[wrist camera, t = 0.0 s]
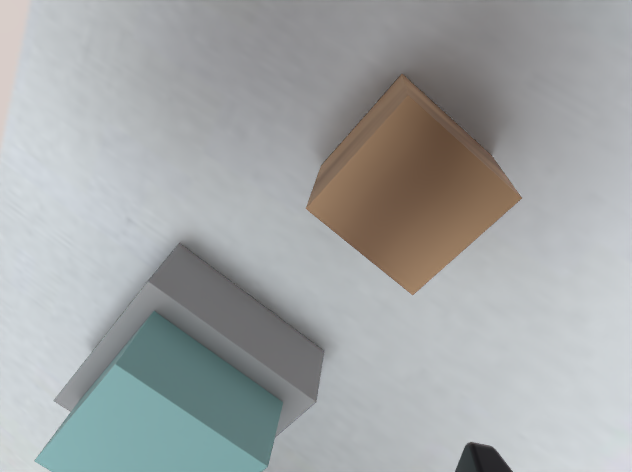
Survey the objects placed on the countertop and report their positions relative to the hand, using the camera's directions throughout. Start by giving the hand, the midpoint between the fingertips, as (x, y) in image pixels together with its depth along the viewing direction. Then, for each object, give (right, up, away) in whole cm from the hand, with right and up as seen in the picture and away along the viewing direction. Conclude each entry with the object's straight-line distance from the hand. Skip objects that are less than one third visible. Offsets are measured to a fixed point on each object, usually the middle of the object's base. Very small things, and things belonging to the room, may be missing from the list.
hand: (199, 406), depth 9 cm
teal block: (-4, -5, +15) cm, 16 cm away
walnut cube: (+6, +6, +13) cm, 15 cm away
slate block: (-4, -3, +19) cm, 19 cm away
